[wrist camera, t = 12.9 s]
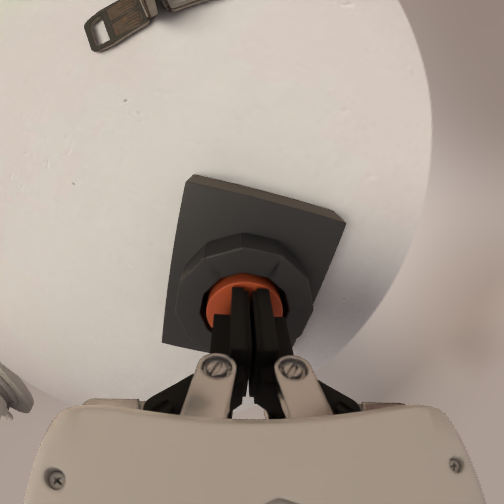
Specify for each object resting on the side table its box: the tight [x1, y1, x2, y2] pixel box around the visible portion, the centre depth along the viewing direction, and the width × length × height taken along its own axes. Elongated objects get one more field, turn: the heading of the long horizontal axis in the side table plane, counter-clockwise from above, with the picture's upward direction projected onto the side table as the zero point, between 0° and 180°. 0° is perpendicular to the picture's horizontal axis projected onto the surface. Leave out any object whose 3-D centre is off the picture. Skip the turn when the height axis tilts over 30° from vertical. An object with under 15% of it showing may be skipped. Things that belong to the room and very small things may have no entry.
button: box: [206, 273, 283, 327], centre depth 13 cm, size 4×4×2 cm
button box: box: [162, 175, 346, 353], centre depth 15 cm, size 10×8×4 cm
